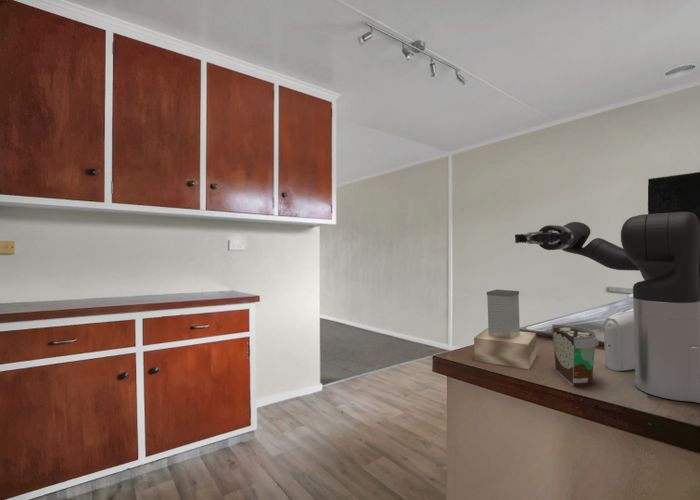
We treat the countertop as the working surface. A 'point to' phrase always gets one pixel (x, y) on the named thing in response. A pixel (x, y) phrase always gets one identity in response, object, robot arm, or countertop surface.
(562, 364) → the food container
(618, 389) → the countertop surface
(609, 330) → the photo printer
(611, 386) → the countertop surface
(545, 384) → the countertop surface
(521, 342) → the beech block
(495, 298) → the tin canister
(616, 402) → the countertop surface
